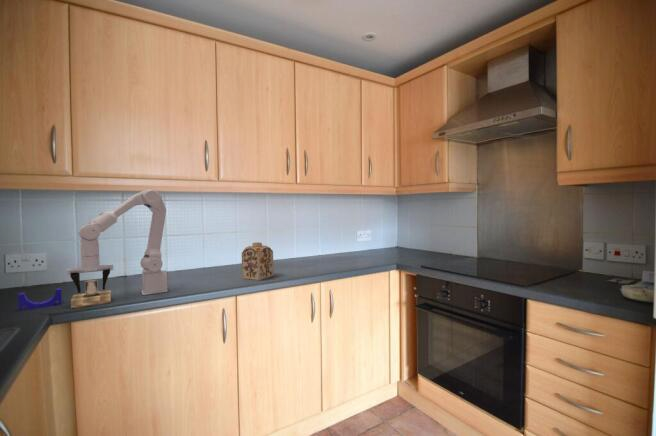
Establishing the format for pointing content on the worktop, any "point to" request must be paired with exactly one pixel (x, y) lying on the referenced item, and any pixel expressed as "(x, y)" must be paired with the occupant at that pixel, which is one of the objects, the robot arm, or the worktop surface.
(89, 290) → the pin
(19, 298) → the blue curved cradle
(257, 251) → the decorative jar
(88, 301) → the pocket block
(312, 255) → the worktop surface
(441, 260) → the worktop surface
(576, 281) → the worktop surface
